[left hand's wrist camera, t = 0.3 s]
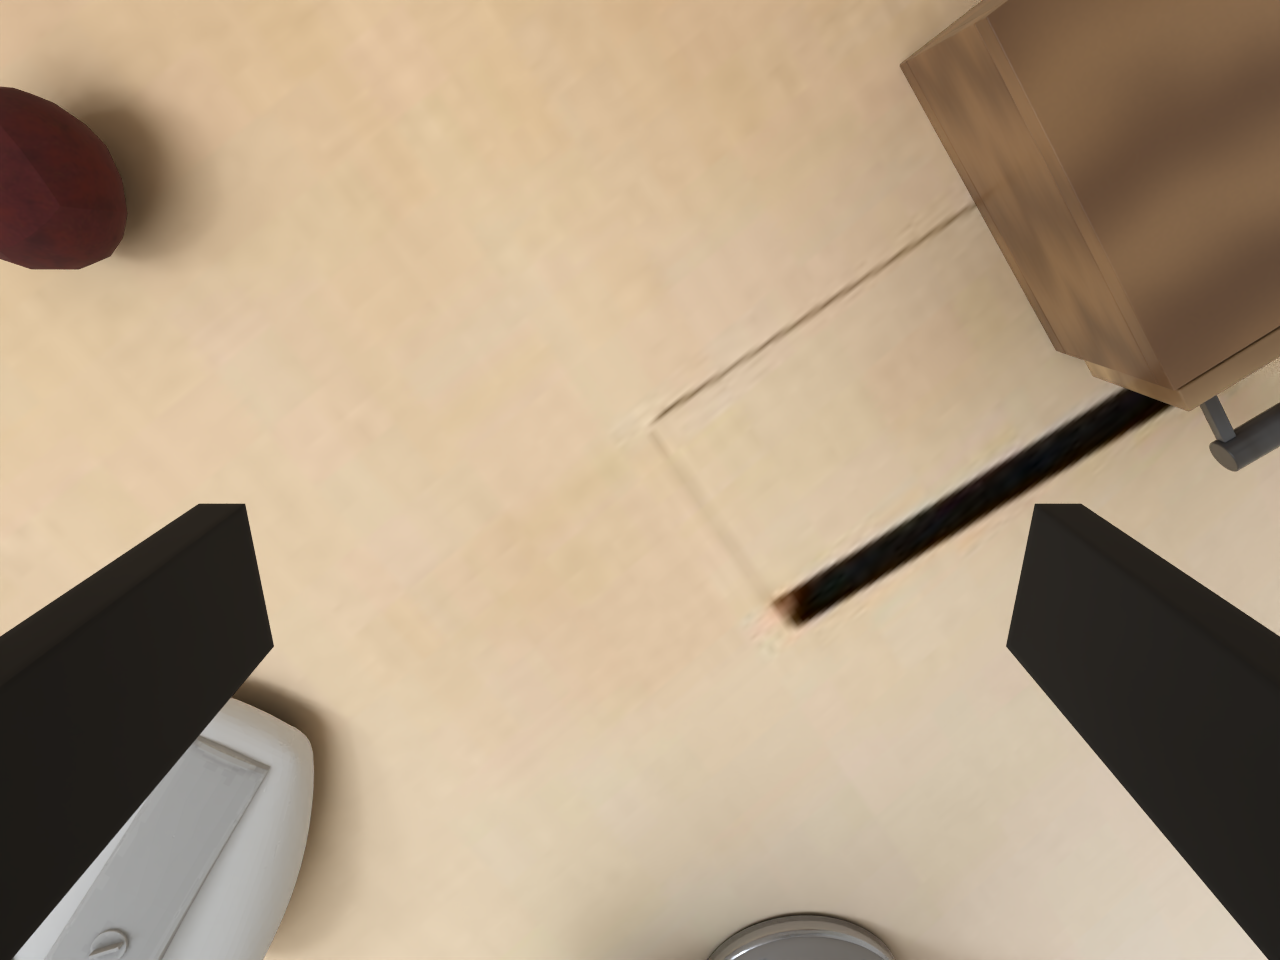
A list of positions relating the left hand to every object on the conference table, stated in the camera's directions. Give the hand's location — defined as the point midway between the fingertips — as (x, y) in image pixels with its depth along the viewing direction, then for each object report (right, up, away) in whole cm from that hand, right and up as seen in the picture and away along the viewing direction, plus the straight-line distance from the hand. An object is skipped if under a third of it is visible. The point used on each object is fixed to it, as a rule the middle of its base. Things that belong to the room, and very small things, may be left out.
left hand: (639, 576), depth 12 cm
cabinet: (+21, +18, +23) cm, 36 cm away
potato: (-27, +16, +24) cm, 39 cm away
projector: (-30, -21, +37) cm, 52 cm away
